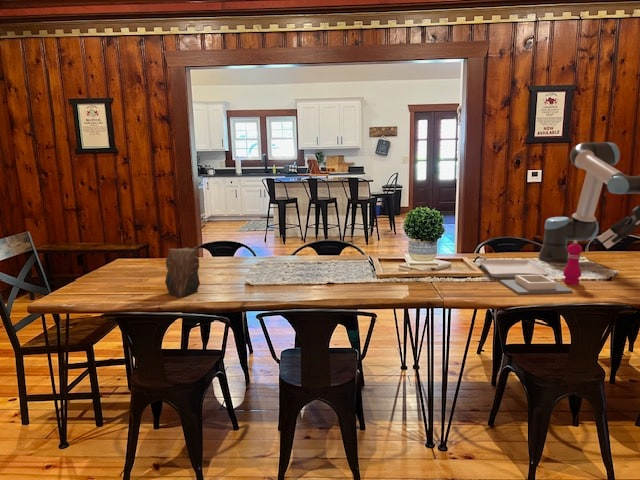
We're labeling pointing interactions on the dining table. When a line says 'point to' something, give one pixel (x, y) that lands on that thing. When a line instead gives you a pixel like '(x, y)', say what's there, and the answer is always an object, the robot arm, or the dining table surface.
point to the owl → (182, 272)
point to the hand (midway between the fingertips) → (602, 243)
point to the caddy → (534, 285)
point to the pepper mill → (573, 264)
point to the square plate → (512, 268)
